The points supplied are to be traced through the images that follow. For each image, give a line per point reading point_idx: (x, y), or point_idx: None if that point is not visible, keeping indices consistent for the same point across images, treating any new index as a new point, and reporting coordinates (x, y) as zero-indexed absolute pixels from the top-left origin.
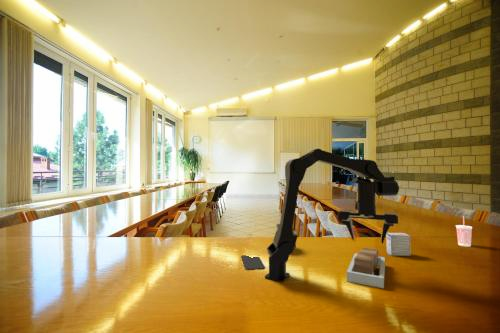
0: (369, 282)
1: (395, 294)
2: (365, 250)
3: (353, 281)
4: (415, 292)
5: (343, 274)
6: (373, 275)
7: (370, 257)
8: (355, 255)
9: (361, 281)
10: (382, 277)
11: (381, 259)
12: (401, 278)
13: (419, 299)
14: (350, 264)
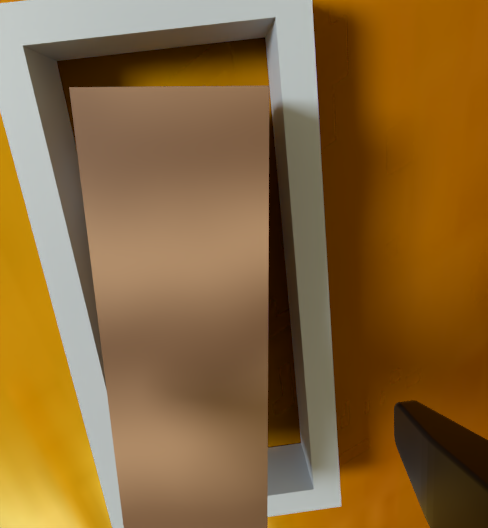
0: None
1: (381, 487)
2: (138, 231)
3: None
4: (475, 411)
5: (69, 403)
6: (280, 500)
7: (244, 445)
8: (16, 104)
9: None
10: (334, 499)
11: (286, 84)
12: (418, 247)
13: None
14: (82, 398)
